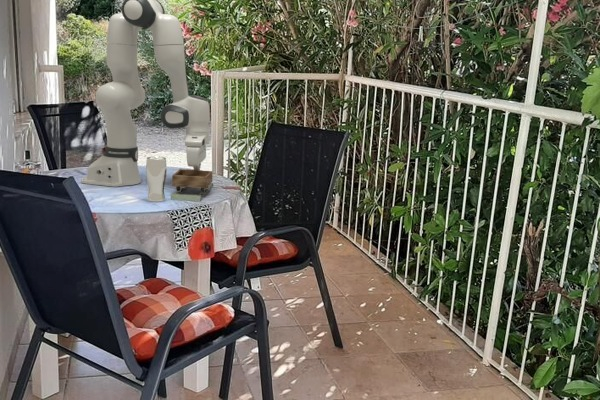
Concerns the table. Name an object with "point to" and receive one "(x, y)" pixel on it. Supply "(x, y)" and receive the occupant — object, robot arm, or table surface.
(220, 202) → the table surface
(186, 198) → the track
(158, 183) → the beer glass
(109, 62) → the robot arm
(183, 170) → the tray
